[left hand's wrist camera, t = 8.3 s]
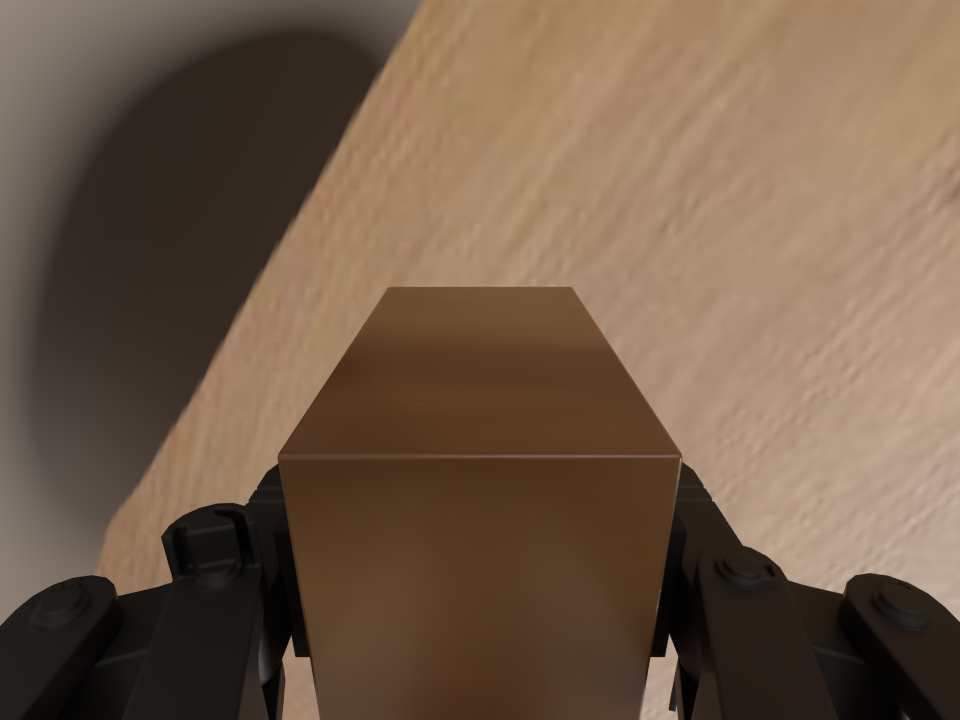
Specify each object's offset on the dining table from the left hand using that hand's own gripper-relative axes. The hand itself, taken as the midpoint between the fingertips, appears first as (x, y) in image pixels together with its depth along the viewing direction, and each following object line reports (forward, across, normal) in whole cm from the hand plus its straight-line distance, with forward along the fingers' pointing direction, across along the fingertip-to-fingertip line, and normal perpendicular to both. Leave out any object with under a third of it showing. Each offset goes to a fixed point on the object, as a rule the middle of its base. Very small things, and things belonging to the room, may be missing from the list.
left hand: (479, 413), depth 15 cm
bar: (+1, 0, -10) cm, 10 cm away
